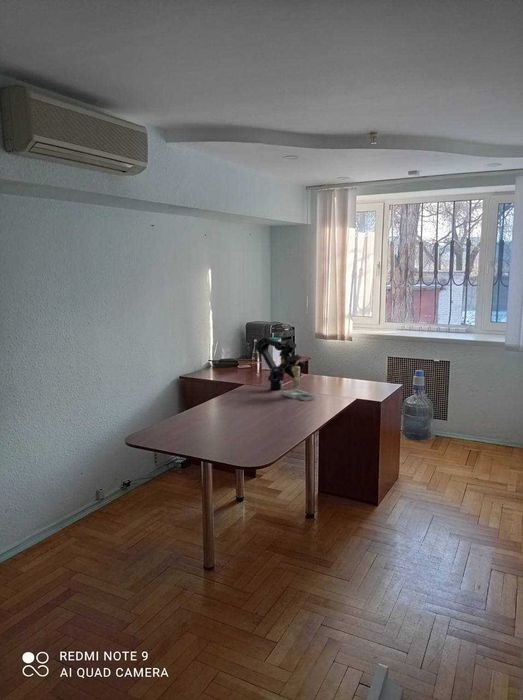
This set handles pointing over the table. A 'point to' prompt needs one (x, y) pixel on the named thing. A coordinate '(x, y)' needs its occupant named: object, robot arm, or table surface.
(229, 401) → the table surface
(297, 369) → the dowel
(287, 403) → the table surface
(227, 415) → the table surface
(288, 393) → the tray
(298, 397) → the dowel holder
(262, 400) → the table surface
